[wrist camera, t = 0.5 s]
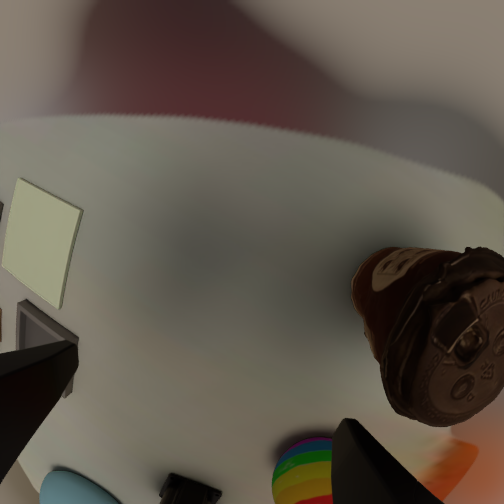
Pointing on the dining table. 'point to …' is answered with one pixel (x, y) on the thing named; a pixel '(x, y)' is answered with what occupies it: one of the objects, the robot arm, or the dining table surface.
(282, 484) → the decorative egg
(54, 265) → the pad
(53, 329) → the tray
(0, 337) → the walnut block
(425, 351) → the coffee cup
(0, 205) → the tray
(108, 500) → the sugar bowl
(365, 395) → the dining table surface
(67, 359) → the robot arm
